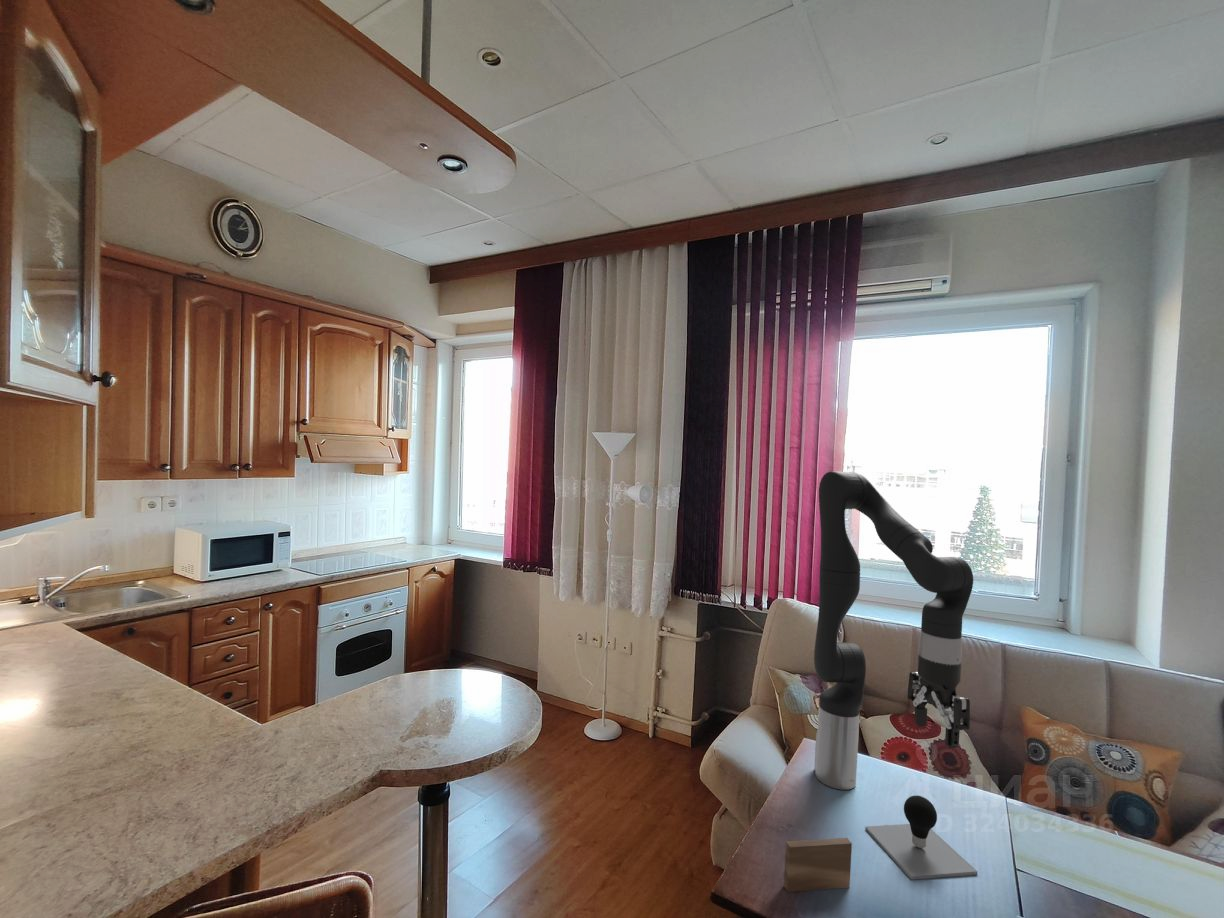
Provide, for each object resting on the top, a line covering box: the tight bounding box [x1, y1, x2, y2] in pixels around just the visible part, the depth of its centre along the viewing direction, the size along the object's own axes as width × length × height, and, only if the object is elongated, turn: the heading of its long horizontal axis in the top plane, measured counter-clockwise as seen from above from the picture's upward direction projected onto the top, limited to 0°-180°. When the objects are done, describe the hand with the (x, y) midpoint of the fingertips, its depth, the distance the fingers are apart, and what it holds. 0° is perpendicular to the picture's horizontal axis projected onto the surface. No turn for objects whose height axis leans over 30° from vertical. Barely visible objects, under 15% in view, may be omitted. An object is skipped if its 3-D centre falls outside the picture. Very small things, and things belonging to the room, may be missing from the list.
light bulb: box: [903, 795, 938, 849], centre depth 111 cm, size 6×6×10 cm
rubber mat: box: [864, 823, 978, 880], centre depth 111 cm, size 14×14×1 cm
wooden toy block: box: [783, 837, 853, 893], centre depth 100 cm, size 2×12×8 cm, turn 99°
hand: (935, 735), depth 111 cm, fingers open, 8 cm apart
